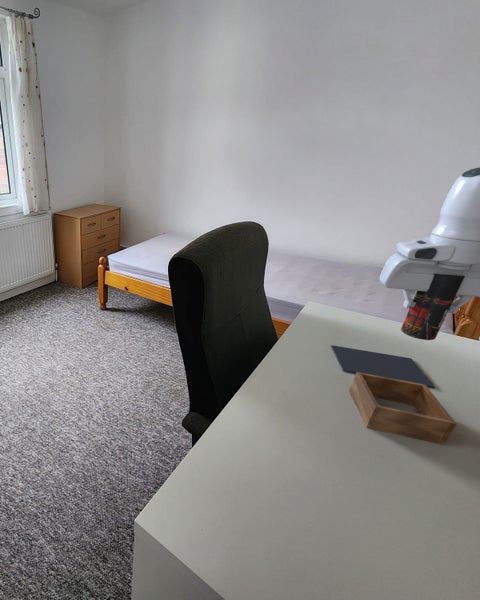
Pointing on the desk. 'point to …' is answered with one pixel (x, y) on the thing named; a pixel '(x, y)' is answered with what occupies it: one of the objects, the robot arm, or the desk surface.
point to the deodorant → (431, 307)
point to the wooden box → (423, 426)
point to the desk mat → (380, 365)
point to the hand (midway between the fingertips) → (428, 309)
